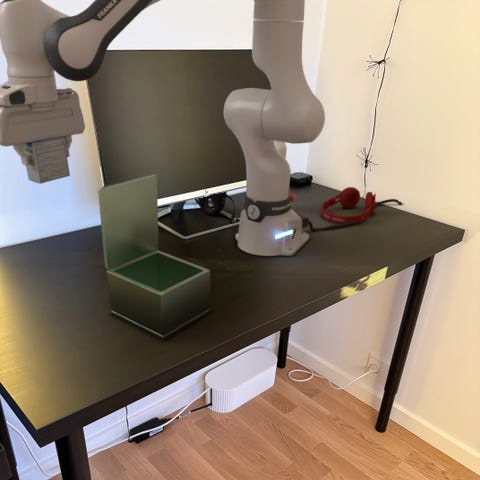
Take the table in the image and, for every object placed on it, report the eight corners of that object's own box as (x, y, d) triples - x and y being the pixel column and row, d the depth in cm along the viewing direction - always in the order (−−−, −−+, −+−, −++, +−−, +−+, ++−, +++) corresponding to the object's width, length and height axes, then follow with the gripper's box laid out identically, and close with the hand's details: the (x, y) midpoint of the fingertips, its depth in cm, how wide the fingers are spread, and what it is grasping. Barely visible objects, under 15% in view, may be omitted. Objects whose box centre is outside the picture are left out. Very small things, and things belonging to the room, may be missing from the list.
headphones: (345, 201, 169) (312, 222, 157) (346, 181, 164) (313, 202, 153) (383, 212, 160) (352, 235, 149) (386, 191, 156) (354, 214, 145)
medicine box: (58, 173, 111) (51, 133, 107) (70, 176, 109) (64, 136, 105) (28, 180, 106) (19, 139, 101) (40, 184, 104) (32, 142, 99)
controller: (219, 219, 149) (220, 187, 144) (190, 210, 156) (189, 179, 150) (228, 216, 152) (229, 184, 147) (198, 207, 159) (198, 176, 153)
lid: (157, 175, 95) (138, 169, 97) (100, 189, 85) (81, 182, 88) (158, 248, 103) (141, 241, 106) (107, 269, 94) (89, 260, 96)
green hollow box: (210, 312, 102) (210, 270, 96) (163, 340, 92) (161, 295, 87) (159, 290, 109) (157, 250, 104) (111, 314, 99) (106, 271, 94)
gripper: (68, 85, 107) (77, 150, 114) (-23, 93, 93) (-6, 167, 100) (86, 88, 104) (94, 155, 111) (-5, 97, 90) (12, 172, 97)
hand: (46, 160), depth 105 cm, fingers closed on medicine box, 8 cm apart
